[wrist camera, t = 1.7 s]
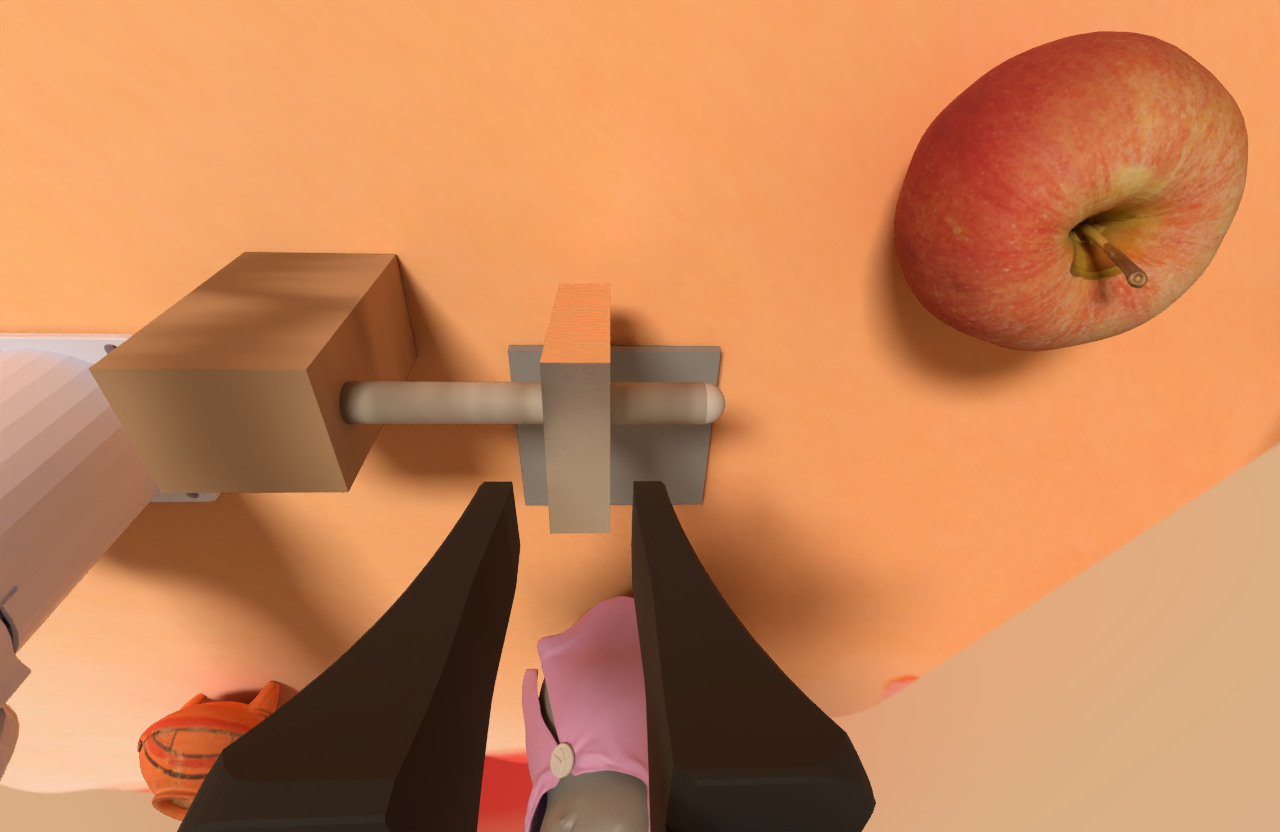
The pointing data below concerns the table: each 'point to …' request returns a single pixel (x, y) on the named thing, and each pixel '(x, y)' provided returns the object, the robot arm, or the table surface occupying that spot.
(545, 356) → the link
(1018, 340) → the apple
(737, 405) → the table surface
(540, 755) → the toy character
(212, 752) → the pot
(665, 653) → the robot arm
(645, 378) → the mat
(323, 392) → the stand
